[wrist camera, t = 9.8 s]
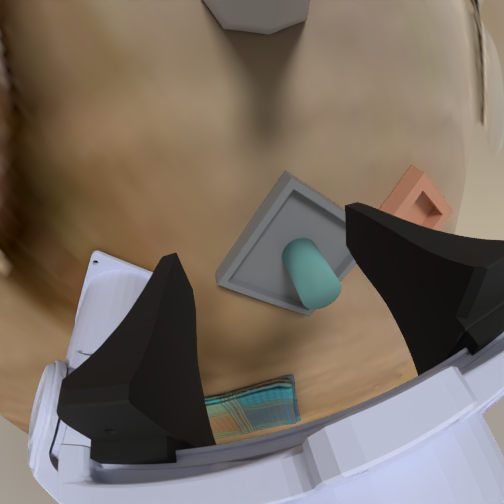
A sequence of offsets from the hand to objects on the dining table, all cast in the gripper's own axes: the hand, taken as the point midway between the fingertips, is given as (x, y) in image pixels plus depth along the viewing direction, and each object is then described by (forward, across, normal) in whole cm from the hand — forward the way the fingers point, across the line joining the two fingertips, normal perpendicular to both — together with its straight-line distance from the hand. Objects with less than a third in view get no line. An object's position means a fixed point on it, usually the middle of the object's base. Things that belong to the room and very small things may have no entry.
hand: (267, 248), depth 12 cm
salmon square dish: (+9, -15, +7) cm, 19 cm away
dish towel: (+10, +11, +36) cm, 39 cm away
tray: (+9, -4, +8) cm, 13 cm away
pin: (+9, -4, +8) cm, 12 cm away
